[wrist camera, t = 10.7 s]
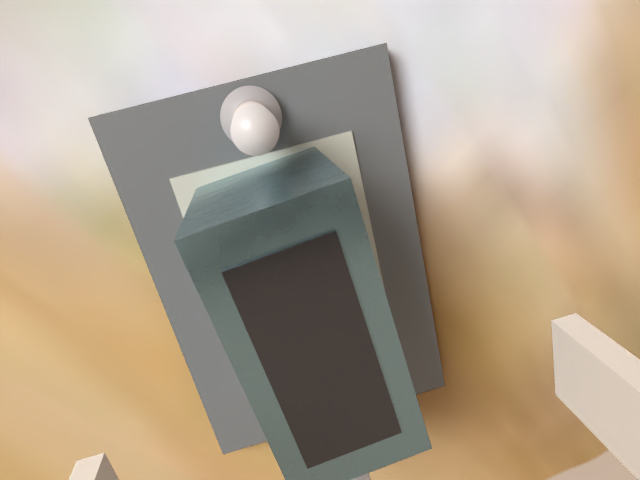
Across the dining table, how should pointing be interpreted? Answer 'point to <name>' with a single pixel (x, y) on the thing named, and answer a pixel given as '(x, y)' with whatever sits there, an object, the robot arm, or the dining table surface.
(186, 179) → the grey flat pegged piece
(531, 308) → the dining table surface
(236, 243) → the block
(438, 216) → the dining table surface
